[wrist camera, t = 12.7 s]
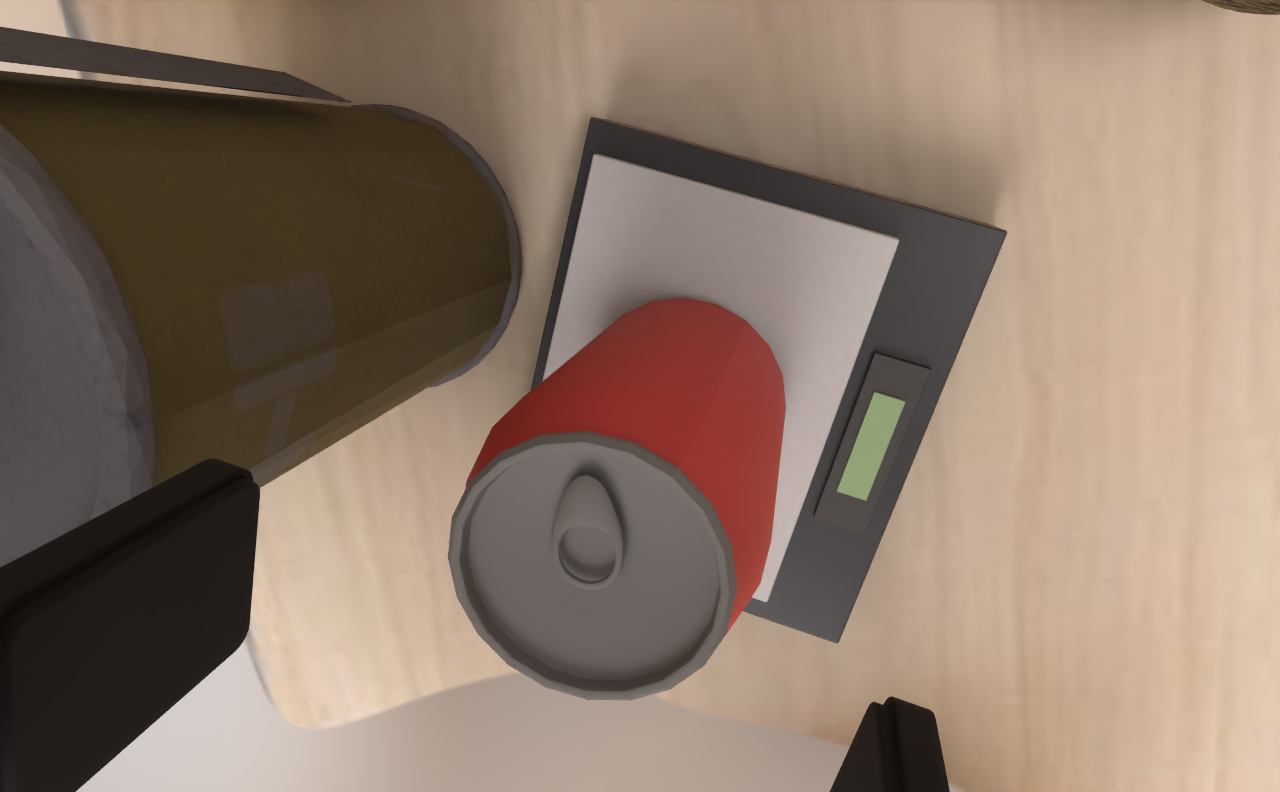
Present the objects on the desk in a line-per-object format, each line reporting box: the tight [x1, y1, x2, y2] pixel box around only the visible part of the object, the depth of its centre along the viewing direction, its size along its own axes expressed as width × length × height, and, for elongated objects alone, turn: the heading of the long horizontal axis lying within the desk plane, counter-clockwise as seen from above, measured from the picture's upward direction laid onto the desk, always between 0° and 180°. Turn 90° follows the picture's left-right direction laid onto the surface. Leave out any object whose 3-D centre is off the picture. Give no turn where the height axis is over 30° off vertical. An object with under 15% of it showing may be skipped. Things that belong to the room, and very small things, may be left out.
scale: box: [531, 117, 1007, 643], centre depth 27 cm, size 15×13×3 cm
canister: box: [0, 27, 521, 568], centre depth 20 cm, size 11×10×20 cm
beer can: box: [448, 297, 786, 700], centre depth 20 cm, size 7×7×12 cm
